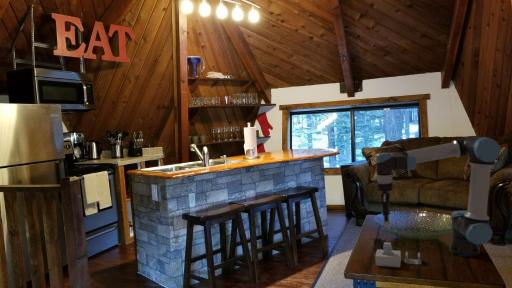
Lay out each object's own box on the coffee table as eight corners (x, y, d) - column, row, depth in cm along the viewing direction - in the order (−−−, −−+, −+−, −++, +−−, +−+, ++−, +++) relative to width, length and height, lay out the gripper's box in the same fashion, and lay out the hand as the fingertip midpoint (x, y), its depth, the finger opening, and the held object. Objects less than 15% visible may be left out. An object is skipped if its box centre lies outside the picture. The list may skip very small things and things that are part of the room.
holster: (421, 261, 210) (420, 252, 210) (421, 266, 205) (420, 256, 205) (405, 260, 214) (404, 251, 213) (404, 264, 208) (404, 255, 208)
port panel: (401, 261, 212) (400, 250, 212) (400, 269, 203) (399, 256, 203) (377, 260, 217) (377, 248, 217) (375, 267, 208) (375, 255, 207)
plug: (392, 259, 211) (391, 242, 210) (391, 261, 208) (391, 244, 207) (384, 258, 212) (383, 242, 212) (383, 260, 209) (383, 243, 209)
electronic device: (388, 254, 224) (388, 241, 223) (373, 251, 231) (372, 238, 230) (392, 252, 227) (392, 239, 226) (377, 249, 234) (376, 236, 233)
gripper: (378, 180, 214) (380, 222, 216) (375, 185, 202) (378, 230, 204) (393, 180, 211) (395, 223, 213) (391, 185, 199) (393, 231, 201)
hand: (386, 226), depth 209 cm, fingers closed
